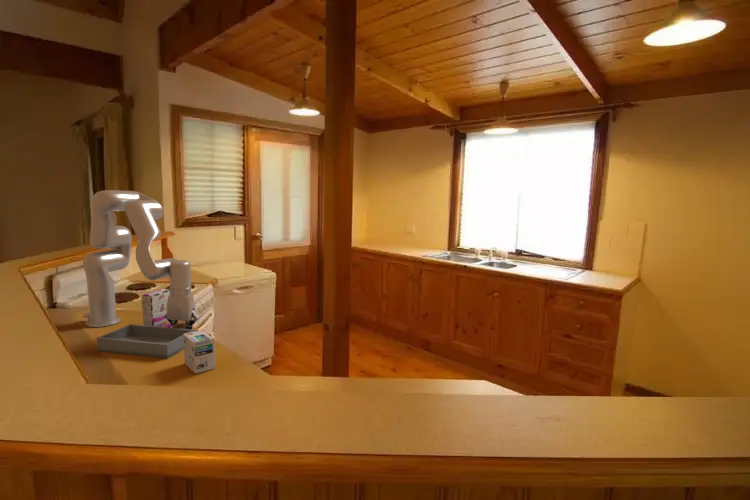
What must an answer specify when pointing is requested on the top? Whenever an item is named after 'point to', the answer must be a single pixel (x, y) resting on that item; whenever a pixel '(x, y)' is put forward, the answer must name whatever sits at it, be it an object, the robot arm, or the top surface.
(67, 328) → the top surface
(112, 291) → the robot arm
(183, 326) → the walnut cube
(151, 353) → the tote
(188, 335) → the light bulb box
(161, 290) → the candy bar box
